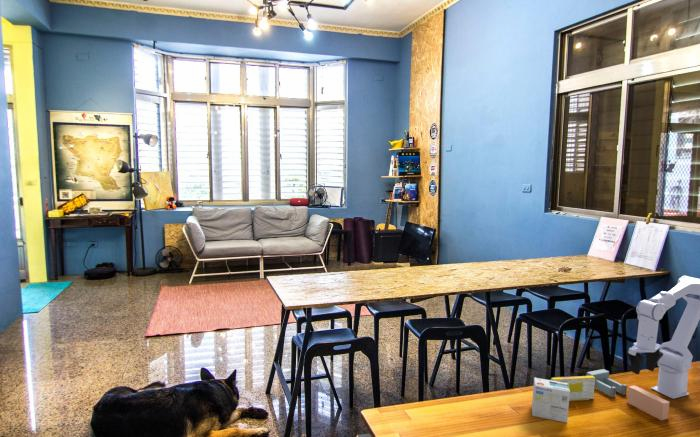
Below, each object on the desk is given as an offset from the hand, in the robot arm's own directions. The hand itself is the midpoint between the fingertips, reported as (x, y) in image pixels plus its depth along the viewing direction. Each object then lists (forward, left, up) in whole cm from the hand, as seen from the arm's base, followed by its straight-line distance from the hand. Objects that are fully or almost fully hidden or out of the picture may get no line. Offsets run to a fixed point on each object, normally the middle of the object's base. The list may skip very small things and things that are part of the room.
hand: (642, 371), depth 159 cm
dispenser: (+5, -9, -10) cm, 15 cm away
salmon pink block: (+5, +6, -11) cm, 13 cm away
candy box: (+24, -8, -11) cm, 28 cm away
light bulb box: (+40, -3, -11) cm, 42 cm away
